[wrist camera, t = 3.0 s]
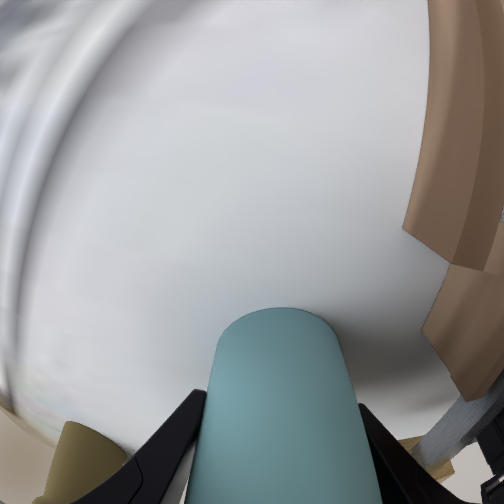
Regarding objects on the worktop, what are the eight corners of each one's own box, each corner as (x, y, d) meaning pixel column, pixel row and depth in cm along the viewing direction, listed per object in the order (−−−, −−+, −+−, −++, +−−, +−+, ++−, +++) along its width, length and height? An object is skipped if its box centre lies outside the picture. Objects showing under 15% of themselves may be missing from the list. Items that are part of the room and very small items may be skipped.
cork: (140, 458, 16) (109, 563, 5) (108, 461, 17) (79, 545, 7) (78, 416, 14) (27, 525, 4) (57, 425, 16) (15, 509, 5)
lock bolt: (516, 325, 7) (553, 366, 4) (423, 446, 10) (437, 485, 7) (481, 324, 7) (525, 378, 4) (381, 454, 10) (393, 500, 7)
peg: (356, 316, 10) (440, 552, 1) (317, 399, 11) (338, 573, 3) (222, 297, 9) (156, 585, 1) (211, 387, 11) (177, 573, 3)
